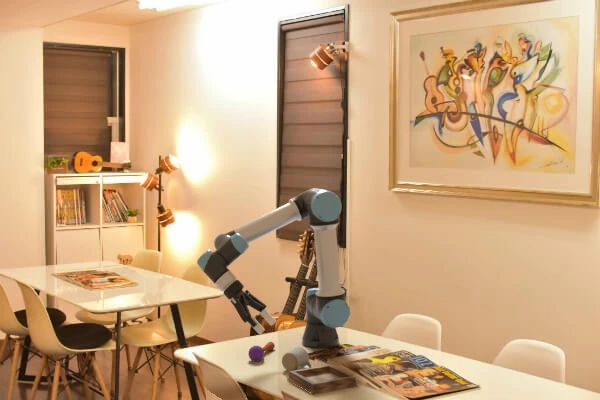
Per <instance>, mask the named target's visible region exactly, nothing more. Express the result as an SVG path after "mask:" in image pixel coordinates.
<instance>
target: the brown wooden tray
mask: <svg viewBox="0 0 600 400" xmlns="http://www.w3.org/2000/svg"><path fill="white" fill-rule="evenodd" d="M288 375H289V376H286V377H287V378H286V380H287V381H288V380H289V381H288V382H290V383H292V384H293V383H294V385H295V384H296V386H297V385H298V386H297V387H299V386H300V387H302V388H303V389H302V388H301V389H302V390H304V389H306V390H307V391H309V392H311V393H312V394H311V393H310V394H311V395H315V394H314V393H317V394H321V393H322V392H323V393H329V392H334V391H338V390H344V389H348V388H354V387H359V382H357V377H356V376H355V375H353V374H351V373H349V372H346V371H345V370H344V369H341V368H339V367H337V366H335V365H333V364H325V365H320V366H314V367H313V366H312V368H309V367H306V368H305V369H300V370H299V369H298V370H294V371H289V372H288ZM300 387H299V388H300ZM306 390H305V391H306ZM307 391H306V392H307ZM309 392H308V393H309Z"/></svg>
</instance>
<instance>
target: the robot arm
mask: <svg viewBox="0 0 600 400" xmlns="http://www.w3.org/2000/svg"><path fill="white" fill-rule="evenodd" d="M342 206H343V205H342V201H341V199H340V198H339V196H338V195H337V194H336V193H335V192H333V191H331V190H330V189H329V190H328V189H324V188H317V187H313V188H310V189H308V190H305V191H303V192H302V193H299V194H298V195H296V196H294V197H292V198H290V199H289V200H288V202H287V203H286V204H283V205H281V206H279V207H277V208H275V209H273V210H271V211H269V212H267V213H265V214H263V215H261V216H259V217H257V218H255V219H253V220H251V221H249V222H247V223H245V224H242V225H240V226H239V227H237V228H235V229H233V230H230V231H228V232H226V233H221V234H218V235H217V236H216V237H215V238H214V241H213V244H214V249H216V250H215V251H213V250H211V249H208V250H206V251H205V252H204V253H202V255H200V257H199V258H198V259H197V262H196V264H197V266H198V267H199V268H200V270H201V271H202V272H203V273H204V274H205V275H206V276H207V277H208V278H209V279H210V280H211V281H212V282H213V283H214V285H215V286H216V288H217V289H219V290H220V291H221V292H223V295H224V296H225V297H226V298H227V299H228V300H230V302H231V304H232V306H234V309H235V310H236V312H237V313H238V315H239V317H240V319H241V320H242V321H243V323H244V324H246V323H247V322H248V324H249V325H250V326H251V327H252V328H253V330H254V331H255V332H256V333H257V334H258V335H262V333H263V332H264V331H265V330H266V329H265V328H264V326H263V325H262V324H261V323H260V322H259V321H258V320H257V319H256V318H255V317H254V316H252V314H251V312H250V309H249V308H248V306H249V307H251V308H252V309H253V310H256V311H258V312H259V315H260V316H261V317H262V318H263V319H264V321H266V323H268V324H269V326H270V327H272V326H273V325H274V324H275V323H276V322H277V320H276V318H275V317H274V316H273V315H272V314H271V313H270V312H269V311H268V310H267V307H268V306H267V305H266V304H265V303H264V302H262V300H259V298H257V297H255V296H254V295H253V294H252V293H251V292H250V291H249V290H248V289H246V290H245V291H244V290H243V289H244V287H245V286H244V284H243V283H242V282H241V281H240V280H239V279H237V276H236V275H235V274H234V272H233V273H232V270H230V269H229V266H231V264H233V263H234V262H235V261H236V260H237V259H239V257H241V256H242V255H243V254H245V252H246V250H248V249H249V247H250V246H249V245H250V244H251V243H253V242H255V241H256V240H259V239H261V238H262V237H265V236H267V235H268V234H271V233H272V232H275V231H276V230H279V229H281V228H283V227H285V226H288V225H289V224H291V223H293V222H295V221H299V222H300V221H303V220H305V219H308V221H309V226H310V227H311V228H312V229H313V233H314V235H313V237H314V246H315V256H316V257H315V259H316V269H317V271H316V272H317V281H318V287H313V288H308V289H307V291H306V295H305V304H306V305H305V307H306V308H305V309H306V310H305V313H306V316H305V319H306V320H305V321H306V322H305V323H306V325H305V328H304V330H303V334H302V336H301V344H302V345H303V346H306V347H309V348H316V349H318V348H321V349H323V348H332V347H336V346H338V345H339V343H340V338H339V334H338V332H337V329H338V328H340V327H343V326H344V325H345V324H346V323H347V322H348V321H349V319H350V317H351V308H350V306H349V304H348V302H346V301H347V300H346V299H347V298H346V290H345V289H343V287H341V286H342V285H341V274H340V263H339V253H338V252H339V250H338V240H337V226H338V225H339V224H340V215H341V214H342V213H341V212H342V209H343V208H342Z"/></svg>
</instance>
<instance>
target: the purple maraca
mask: <svg viewBox="0 0 600 400" xmlns="http://www.w3.org/2000/svg"><path fill="white" fill-rule="evenodd" d="M274 349H275V343H274V342H273V341H269V342H267V343H265V345H264V346H263V347H262V346H260V345H253V346H251V347H250V348H249V350H248V356H249V357H248V358H249V359H250V360H251V361H252V362H260V361H262V360H263V359H264V357H265V352H268V351H271V350H274Z"/></svg>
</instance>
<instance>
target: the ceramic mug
mask: <svg viewBox="0 0 600 400" xmlns="http://www.w3.org/2000/svg"><path fill="white" fill-rule="evenodd" d="M309 361H310V357H309V353H308V351H307V350H306V349H305V348H304V347H302V346H295V347H294V348H292V349H290V350H288V351H287V352H285V353H284V354H283V356H282V358H281V364H282V367H283V368H284V369H285V370H287V372H288V371H294V370H300V369H306V368H304V367H306V366H307V368H312V367H313V365H312V364H311V362H309Z"/></svg>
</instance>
